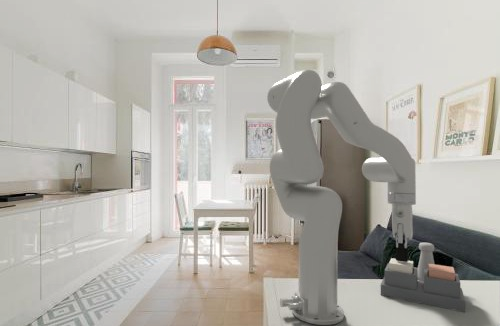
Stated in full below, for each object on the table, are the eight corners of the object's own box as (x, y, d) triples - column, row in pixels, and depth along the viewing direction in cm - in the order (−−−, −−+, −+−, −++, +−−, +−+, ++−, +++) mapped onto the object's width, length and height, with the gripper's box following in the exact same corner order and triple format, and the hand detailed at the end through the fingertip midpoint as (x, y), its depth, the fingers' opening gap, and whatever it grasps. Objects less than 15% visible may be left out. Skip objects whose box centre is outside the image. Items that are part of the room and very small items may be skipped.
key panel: (380, 294, 87) (380, 270, 87) (384, 284, 96) (385, 261, 96) (465, 312, 77) (464, 284, 77) (461, 298, 85) (461, 273, 86)
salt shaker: (440, 288, 93) (440, 245, 93) (420, 286, 94) (420, 244, 95) (432, 281, 99) (432, 241, 99) (413, 279, 100) (413, 240, 100)
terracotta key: (428, 281, 83) (428, 269, 83) (428, 275, 88) (428, 263, 88) (455, 286, 80) (454, 273, 80) (453, 279, 85) (453, 267, 85)
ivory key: (389, 275, 88) (389, 263, 88) (391, 269, 93) (391, 258, 93) (412, 279, 85) (412, 266, 85) (413, 273, 90) (413, 261, 90)
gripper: (414, 201, 81) (415, 269, 81) (416, 197, 94) (417, 256, 94) (384, 200, 85) (385, 265, 85) (390, 196, 98) (390, 253, 98)
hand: (401, 260), depth 89 cm, fingers closed
